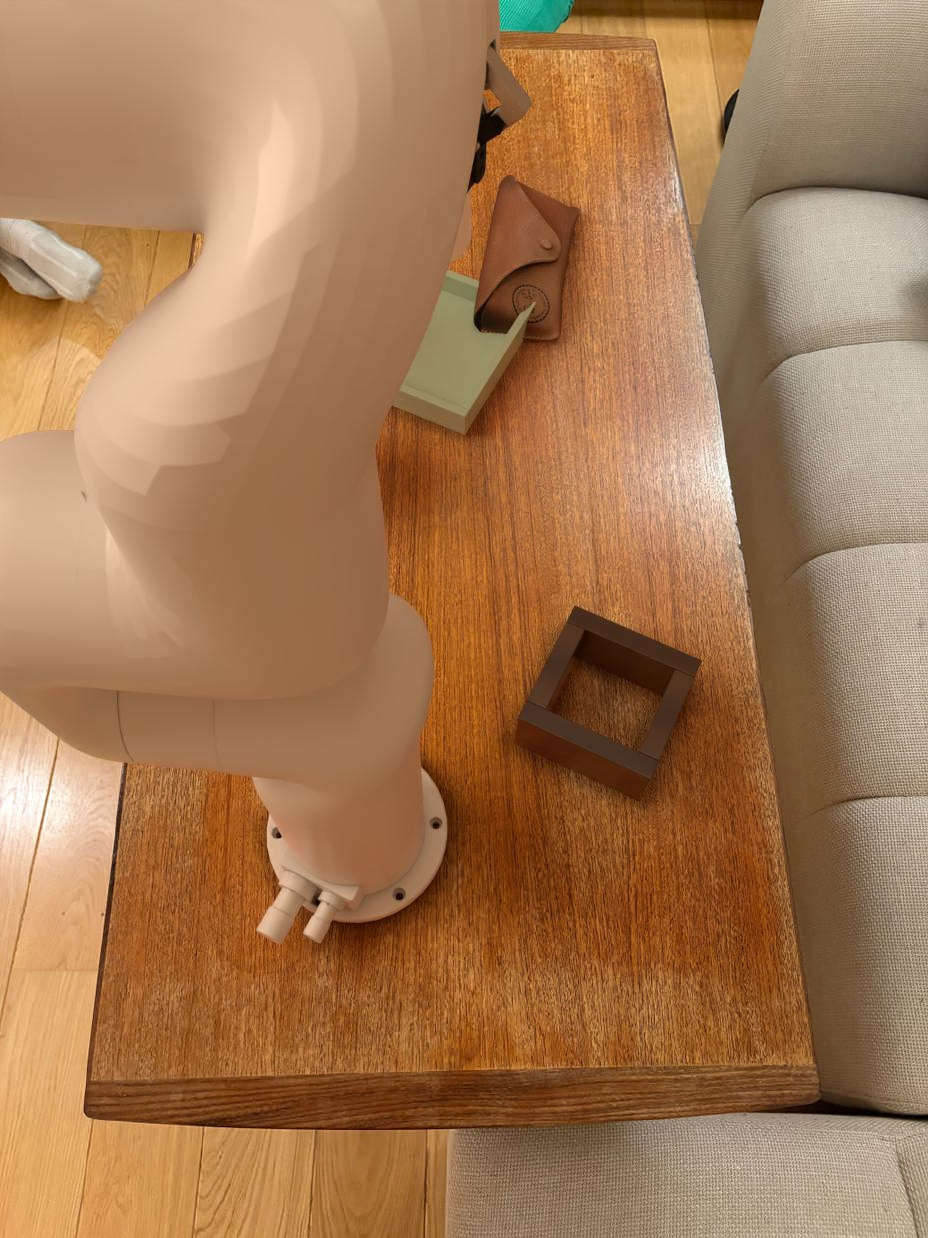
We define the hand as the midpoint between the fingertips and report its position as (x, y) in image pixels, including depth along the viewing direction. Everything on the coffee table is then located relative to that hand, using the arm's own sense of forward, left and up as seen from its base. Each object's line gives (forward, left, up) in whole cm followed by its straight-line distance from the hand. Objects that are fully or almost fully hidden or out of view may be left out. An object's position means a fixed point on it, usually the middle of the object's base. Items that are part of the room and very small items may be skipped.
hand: (424, 168), depth 75 cm
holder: (-26, -28, -19) cm, 43 cm away
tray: (0, 0, -19) cm, 19 cm away
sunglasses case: (+13, -4, -19) cm, 24 cm away
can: (0, 0, -7) cm, 7 cm away
